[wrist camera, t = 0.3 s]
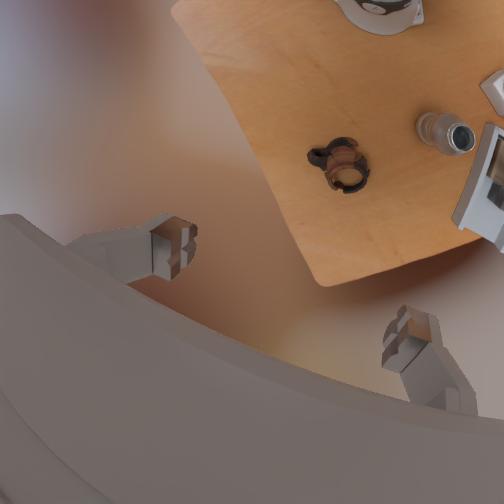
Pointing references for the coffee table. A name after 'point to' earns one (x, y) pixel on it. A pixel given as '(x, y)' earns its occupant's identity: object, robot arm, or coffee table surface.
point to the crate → (497, 175)
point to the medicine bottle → (495, 91)
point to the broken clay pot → (339, 162)
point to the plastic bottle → (445, 133)
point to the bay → (482, 194)
